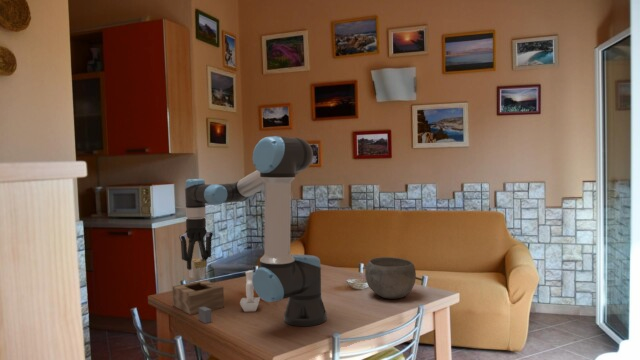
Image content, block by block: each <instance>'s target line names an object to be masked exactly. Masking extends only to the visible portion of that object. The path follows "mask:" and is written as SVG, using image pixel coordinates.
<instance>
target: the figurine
mask: <svg viewBox="0 0 640 360" xmlns="http://www.w3.org/2000/svg"><path fill="white" fill-rule="evenodd" d="M254 272H255V271H254V270H252V269H251V270H250V269H249V270H247V271H245V277H246V278H245V279H246V281H245V296H246V297H241V299H240V302H239V305H240V307H241V308H242V311H243V312H245V313H247V312H256V311H257V309H258V306H259V304H260V300H261V298H260V297H259V296H258V297H254V295H255V294H254V287H253V282H252V277H253V273H254Z"/></svg>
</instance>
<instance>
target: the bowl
mask: <svg viewBox="0 0 640 360" xmlns="http://www.w3.org/2000/svg"><path fill="white" fill-rule="evenodd" d="M364 272H365V273H364V276H365V280H366V283H367V285H368V287H369V288H370V290H371V291H372V292H374V293H375V294H376V295H378V296H380V297H381V298H384V299H389V300H397V299H398V300H399V299H402V298H403V297H406V296H407V295H408V294H410V292H412V290H413V288H414V286H415V283H416V280H417V277H416V276H417V275H416V274H417V273H416V267H415V265H414V263H413V261H411V260H408V259H405V258H400V257H393V256H383V257H382V256H381V257H374V258H370V259H369V260H368V262H367V264H366V265H365V271H364Z"/></svg>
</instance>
